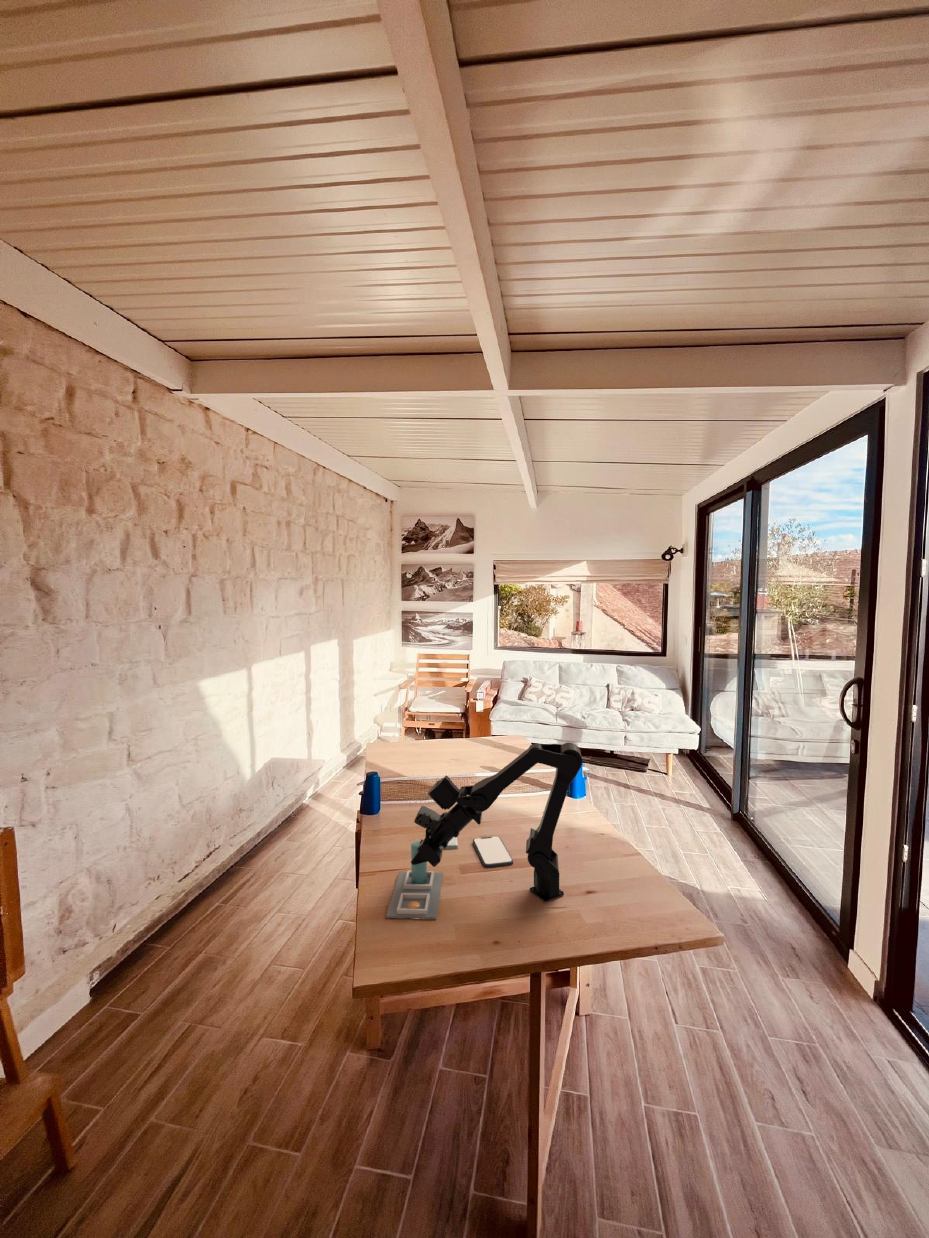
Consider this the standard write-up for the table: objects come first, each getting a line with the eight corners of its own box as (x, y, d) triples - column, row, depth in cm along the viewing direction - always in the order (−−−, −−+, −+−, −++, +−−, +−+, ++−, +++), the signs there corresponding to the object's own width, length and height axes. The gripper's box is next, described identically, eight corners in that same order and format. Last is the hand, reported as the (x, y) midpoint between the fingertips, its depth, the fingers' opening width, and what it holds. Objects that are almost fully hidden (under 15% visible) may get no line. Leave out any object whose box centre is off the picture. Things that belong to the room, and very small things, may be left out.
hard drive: (457, 845, 167) (455, 826, 180) (430, 845, 167) (430, 827, 179) (457, 850, 167) (455, 831, 180) (430, 851, 167) (430, 832, 179)
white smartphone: (514, 867, 158) (499, 840, 173) (514, 861, 158) (499, 835, 173) (484, 870, 156) (471, 843, 172) (484, 865, 156) (471, 838, 171)
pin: (429, 882, 147) (429, 845, 147) (415, 887, 145) (415, 849, 145) (422, 875, 151) (422, 839, 150) (409, 880, 149) (408, 843, 148)
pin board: (399, 874, 153) (399, 868, 153) (443, 875, 152) (443, 869, 152) (386, 918, 133) (386, 911, 133) (436, 919, 132) (436, 913, 132)
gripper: (439, 785, 155) (401, 822, 157) (425, 813, 137) (382, 854, 139) (467, 814, 155) (428, 850, 157) (457, 846, 136) (414, 886, 138)
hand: (413, 859), depth 148 cm, fingers closed on pin, 4 cm apart
